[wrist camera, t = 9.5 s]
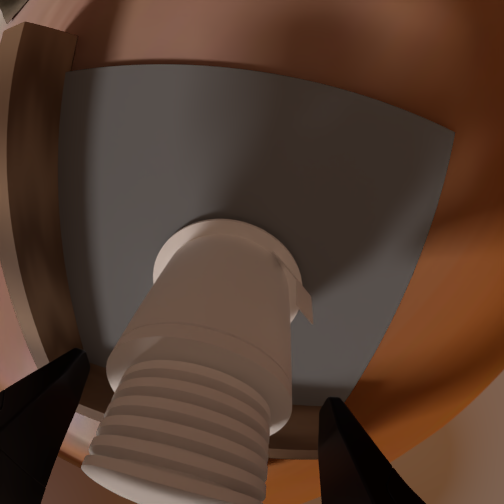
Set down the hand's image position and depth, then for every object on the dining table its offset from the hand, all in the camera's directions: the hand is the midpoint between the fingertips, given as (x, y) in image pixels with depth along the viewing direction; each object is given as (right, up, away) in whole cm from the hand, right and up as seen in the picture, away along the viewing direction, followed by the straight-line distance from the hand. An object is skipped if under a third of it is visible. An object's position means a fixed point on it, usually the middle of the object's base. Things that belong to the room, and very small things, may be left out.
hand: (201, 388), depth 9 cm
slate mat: (0, +3, +5) cm, 6 cm away
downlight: (0, +3, +5) cm, 6 cm away
